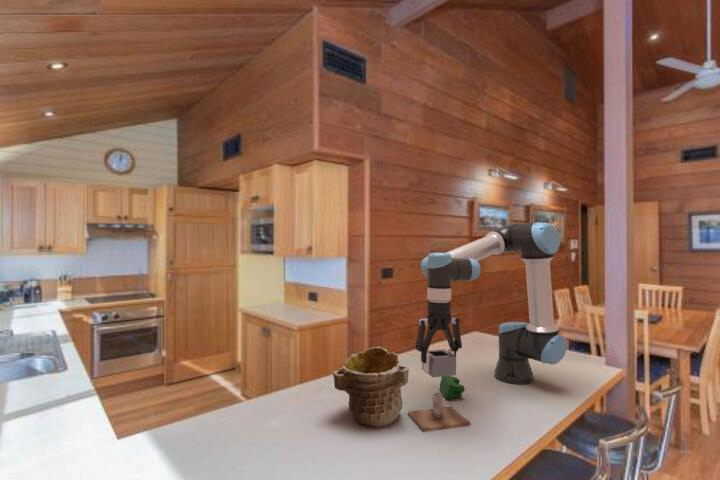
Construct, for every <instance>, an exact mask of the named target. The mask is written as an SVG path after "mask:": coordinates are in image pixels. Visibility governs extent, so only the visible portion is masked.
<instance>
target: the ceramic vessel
mask: <svg viewBox="0 0 720 480" xmlns="http://www.w3.org/2000/svg"><path fill="white" fill-rule="evenodd" d="M409 372H410V368H409V367H408V366H405V365H402V364H401V363H400V360H399V355H398V354H396V353H395V352H388V349H387V348H383V347H382V346H373V347H370V348H368V349H365V350H364V351H362V350H361V351H360V352H358V353H353V354H350V356H349V357H348V358H347V359H346V360H345V361H344V362H343V363H342V365H341V366H340V368H339V369H337V370H333V373H332V376H333V380H334V381H333V382H334V383H333V385H334V389H335V390H337V391H342V392H345V393H347V395H348V397H349V398H348V410H349V411H350V413H351V414H352V416H353V418H354V420H355V422H357V423H358V424H361V425H365V426H370V427H375V428H381V427H386V426H389V425H391V424H392V423H393V422H394V421H395V420H396V419H397V418H398V416H399V415H400V414H401V411H402V409H403V405H404V404H403V403H404V402H403V397H402V387H404V386H406V385H407V384H408V383H409Z"/></svg>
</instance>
